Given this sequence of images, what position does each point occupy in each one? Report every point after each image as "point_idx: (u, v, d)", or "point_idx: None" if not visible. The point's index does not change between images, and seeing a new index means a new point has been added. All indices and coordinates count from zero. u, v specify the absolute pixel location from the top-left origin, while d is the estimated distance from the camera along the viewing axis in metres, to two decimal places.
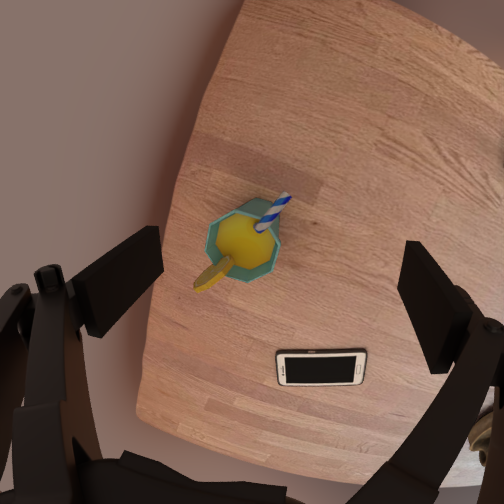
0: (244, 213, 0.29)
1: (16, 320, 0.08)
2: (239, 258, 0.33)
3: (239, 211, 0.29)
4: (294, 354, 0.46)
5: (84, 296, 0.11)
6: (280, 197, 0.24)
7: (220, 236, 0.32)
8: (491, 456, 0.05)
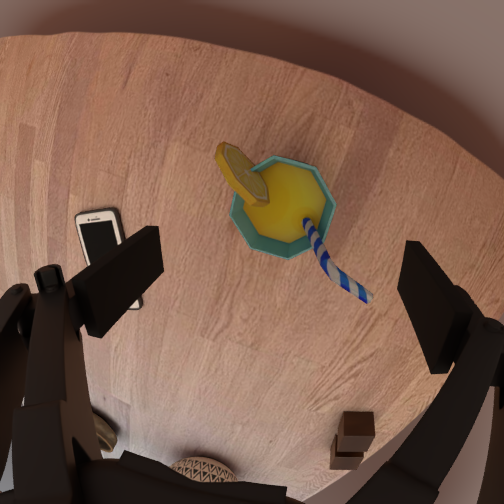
0: (331, 217, 0.21)
1: (16, 320, 0.08)
2: None
3: (333, 211, 0.21)
4: (118, 231, 0.36)
5: (84, 296, 0.11)
6: (366, 293, 0.19)
7: (290, 170, 0.22)
8: (491, 456, 0.05)
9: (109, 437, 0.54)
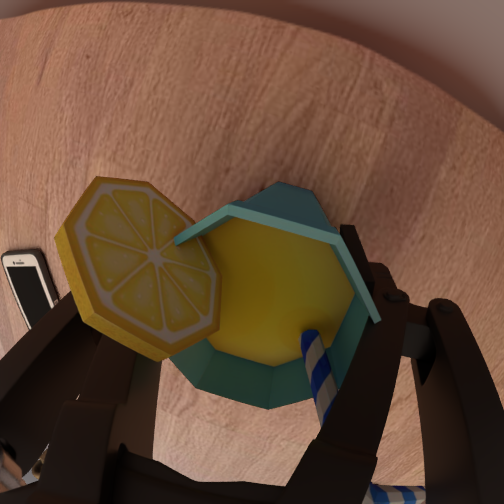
0: None
1: None
2: None
3: None
4: (44, 281, 0.24)
5: None
6: (417, 498, 0.06)
7: (274, 229, 0.10)
8: (426, 433, 0.06)
9: None
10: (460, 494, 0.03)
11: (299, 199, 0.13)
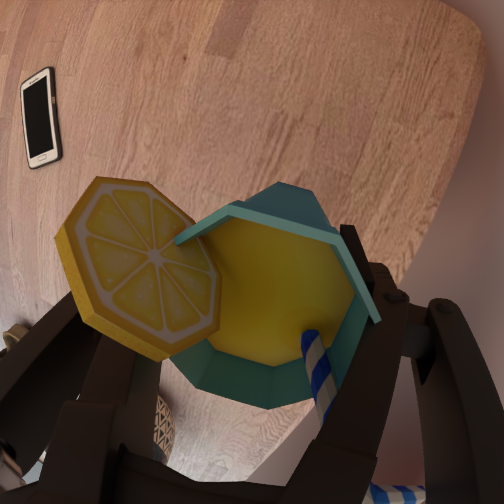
0: None
1: None
2: None
3: None
4: (49, 83, 0.31)
5: None
6: (417, 498, 0.06)
7: (274, 229, 0.10)
8: (426, 433, 0.06)
9: None
10: (460, 495, 0.03)
11: (299, 199, 0.13)
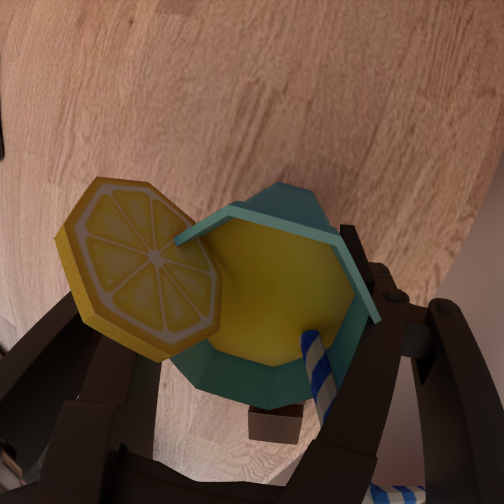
0: None
1: None
2: None
3: None
4: None
5: None
6: (417, 498, 0.06)
7: (274, 230, 0.10)
8: (425, 433, 0.06)
9: None
10: (460, 494, 0.03)
11: (299, 199, 0.13)
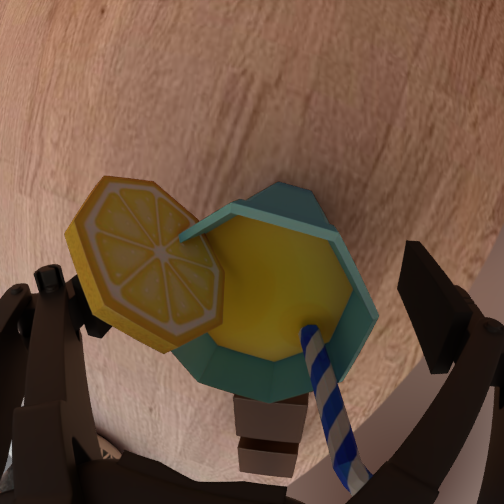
0: (363, 342, 0.09)
1: (16, 320, 0.08)
2: None
3: (371, 328, 0.09)
4: None
5: (84, 296, 0.11)
6: None
7: (275, 228, 0.10)
8: (491, 456, 0.05)
9: None
10: None
11: (299, 198, 0.14)
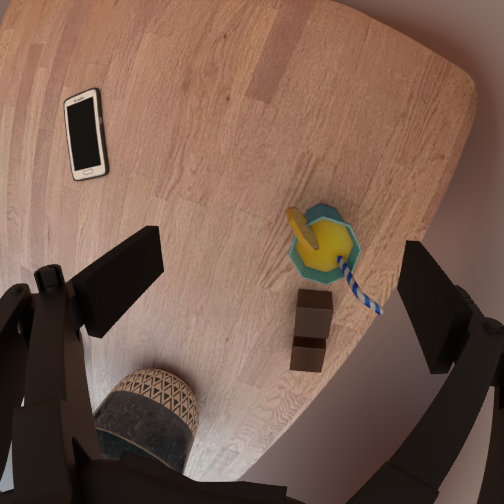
0: (357, 258, 0.31)
1: (16, 320, 0.08)
2: None
3: (359, 253, 0.31)
4: (96, 104, 0.39)
5: (84, 296, 0.11)
6: (380, 308, 0.29)
7: (330, 223, 0.32)
8: (491, 456, 0.05)
9: None
10: None
11: (333, 213, 0.36)
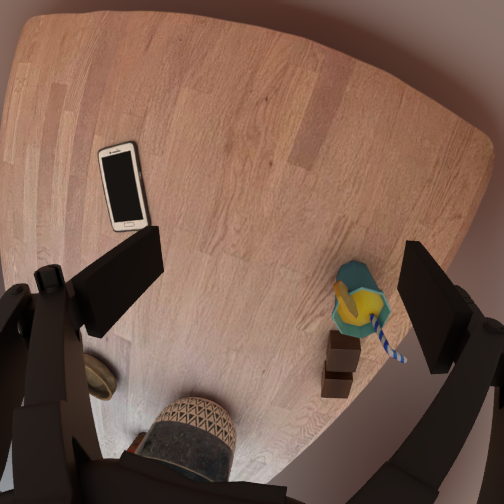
0: (387, 317, 0.36)
1: (16, 320, 0.08)
2: None
3: (389, 314, 0.36)
4: (135, 159, 0.44)
5: (84, 296, 0.11)
6: (404, 358, 0.33)
7: None
8: (491, 456, 0.05)
9: (109, 381, 0.62)
10: None
11: (366, 274, 0.40)
